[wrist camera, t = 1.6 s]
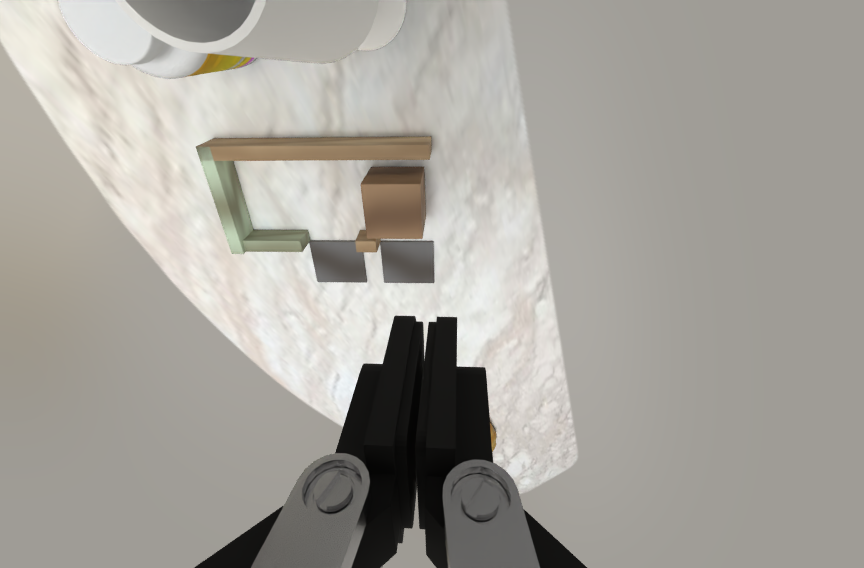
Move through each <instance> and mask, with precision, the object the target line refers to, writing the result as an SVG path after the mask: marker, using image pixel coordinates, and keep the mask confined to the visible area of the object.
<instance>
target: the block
mask: <svg viewBox="0 0 864 568" xmlns="http://www.w3.org/2000/svg"><path fill="white" fill-rule="evenodd" d="M361 192H362V200H363V209H364V217H365V225H366V233H367V238H375V239H422V238H423V231H424V225H425V219H426V206H425V173H424V167H371V168H370V170H369V171H368V173H367V175H366V176H365V178H364V180H363V181H362V183H361Z"/></svg>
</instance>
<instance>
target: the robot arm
mask: <svg viewBox="0 0 864 568" xmlns="http://www.w3.org/2000/svg"><path fill="white" fill-rule="evenodd" d="M416 490H417V492H418V509H419V527H420V529H425V534H426V555H427V556H428V557H429V558H430V560H431V561H432V563H433V564H434V565H435V566H436V567H437V568H587V567H586V566H585V565H584V564H583V563H581V562H580V561H579V560H578V559H577V558H576V557H575V556H574V555H573V554H572V553H571V552H570V551H568V550H567V549H566V548H565V547H564V546H563V545H562V544H561V543H560V542H559V541H558V540H557V539H555V538H554V537H553V536H552V535H551V534H550V533H549V532H548V531H547V530H546V529H545V528H543V527H542V526H541V525H540V524H539V523H538V522H537V521H536V520H535V519H534V518H533V517H532V516H531V515H529V514H528V513H527V512H526V511H525V510H524V509H523V506H522V503H521V499H520V496H519V492H518V489H517V487H516V485H515V483H514V480H513V479H512V478H511V476H510V475H509V474H508V473H507V472H506V471H505V470H504V469H503V468H501V467H500V466H498V465H497V464H495V463H493V455H492V443H491V430H490V417H489V405H488V392H487V379H486V369H485V368H484V367H457V317H437V322H429V325H428V334H427V343H426V352H425V361H424V334H423V322H416V318H415V316H395V317H394V320H393V324H392V328H391V332H390V337H389V341H388V345H387V349H386V353H385V357H384V361H383V364H363V366H362V368H361V371H360V374H359V377H358V381H357V384H356V387H355V390H354V394H353V397H352V400H351V403H350V407H349V410H348V413H347V417H346V420H345V423H344V426H343V430H342V433H341V436H340V439H339V443H338V446H337V449H336V452H335V454H330V455H326V456H324V457H322V458H320V459H318V460H316V461H314V462H313V463H312V464H311V465H310V466H308V467H307V468H306V469H305V470H304V472H303V473H302V474H301V476H300V477H299V479H298V480H297V482H296V484H295V486H294V488H293V490H292V491H291V493H290V495H289V497H288V499H287V501H286V503H285V505H284V506H282V507H281V508H279V509H278V510H276V511H275V512H274V513H272V514H271V515H270V516H268V517H266V518H265V519H264V520H262V521H261V522H259V523H258V524H257V525H255V526H253V527H252V528H251V529H249V530H248V531H246V532H245V533H244V534H242V535H241V536H239V537H238V538H236V539H235V540H233V541H232V542H230V543H229V544H228V545H226V546H225V547H223V548H222V549H220V550H219V551H218V552H216V553H215V554H214V555H212V556H210V557H209V558H207V559H206V560H205V561H203V562H202V563H200V564H199V565H198V566H196V567H195V568H382V567H383V565H384V564H385V563H386V562H387V561H388V560H389V559H390V558H391V557H392V556H394V555H395V554H396V553H397V545H398V543H402V542H403V534H404V528H412V527H413V521H414V510H415V501H416Z"/></svg>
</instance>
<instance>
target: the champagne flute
mask: <svg viewBox="0 0 864 568" xmlns="http://www.w3.org/2000/svg"><path fill="white" fill-rule="evenodd" d="M115 1H116V2H117V3H118V5H119V6H120V7H121V8H122V10H123V11H124V12H126V13H127V14H128V15H129V16H130V17H131V18H132V19H133V20H134V21H135V22H136V23H137V24H138V25H139V26H140V27H142V28H143V29H144V30H146V31H147V32H149V33H150V34H151V35H153V36H154V37H155V38H157V39H159V40H161V41H163V42H165V43H167V44H169V45H171V46H173V47H176V48H179V49H182V50H186V51H189V52H198V53H208V54H219V55H230V56H241V57H252V58H263V59H274V60H285V61H296V62H307V63H318V64H324V63H332V62H336V61H338V60H341V59H343V58H346V57H347V56H348V55H350V54H351V53H353V52H354V51H356V49H358V50H364V51H370V50H376V49H379V48H381V47H384V46H385V45H387V44H388V43H390V42H391V41H392V39H393V38H394V37H395V36H396V35H397V33H398V32H399V30H400V28H401V26H402V23H403V21H404V17H405V12H406V0H115Z"/></svg>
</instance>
